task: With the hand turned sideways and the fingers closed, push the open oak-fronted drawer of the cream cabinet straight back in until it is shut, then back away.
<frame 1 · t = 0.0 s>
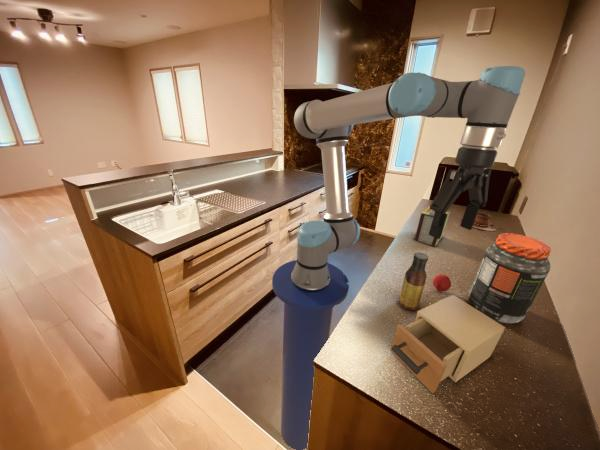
hand: (450, 232, 65), 31 cm above the worktop, tool pointing down, fingers open, 13 cm apart
sauce bottle: (407, 305, 84), on the worktop
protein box: (428, 238, 133), on the worktop
onion: (438, 291, 92), on the worktop
supplement tub: (492, 308, 85), on the worktop
cabinet: (448, 348, 69), on the worktop
drawer: (427, 349, 62), point 5 cm above the worktop, slide at 7.0 cm
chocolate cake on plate: (479, 225, 154), on the worktop
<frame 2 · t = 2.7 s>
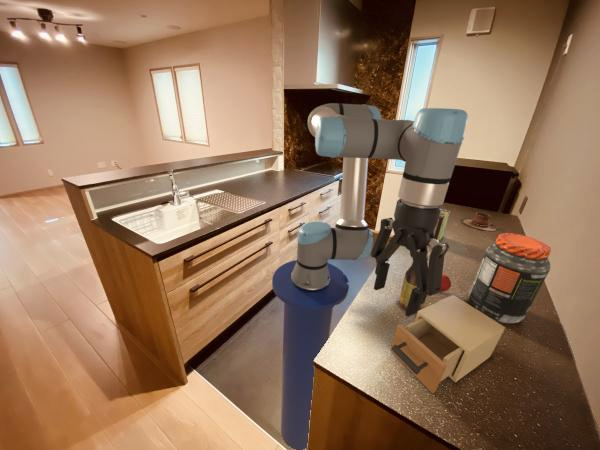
hand: (394, 299, 54), 21 cm above the worktop, tool pointing down, fingers open, 8 cm apart
nothing on the worktop moved.
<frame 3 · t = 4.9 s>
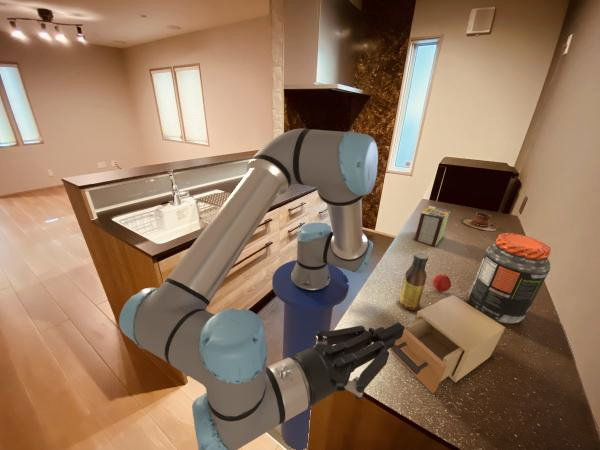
hand: (400, 329, 50), 18 cm above the worktop, tool horizontal, fingers closed
nothing on the worktop moved.
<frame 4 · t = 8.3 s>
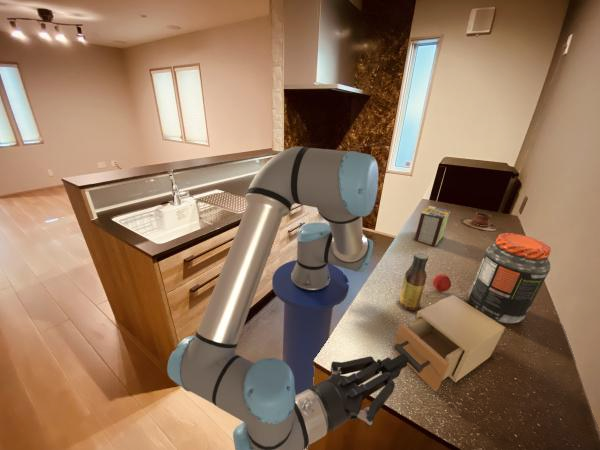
hand: (404, 359, 57), 7 cm above the worktop, tool horizontal, fingers closed
drawer: (429, 348, 62), point 5 cm above the worktop, slide at 6.2 cm, touching gripper
everything else where it was.
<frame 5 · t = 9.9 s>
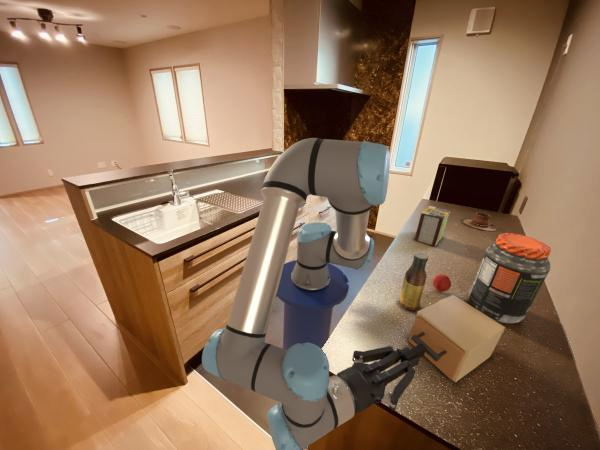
hand: (422, 349, 60), 7 cm above the worktop, tool horizontal, fingers closed
drawer: (444, 339, 65), point 5 cm above the worktop, slide at 0.0 cm, touching cabinet, gripper
everything else where it was.
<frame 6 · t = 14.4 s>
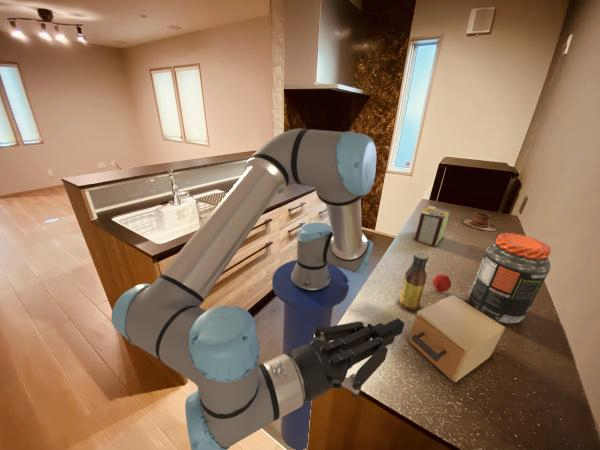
hand: (399, 325, 49), 20 cm above the worktop, tool horizontal, fingers closed
drawer: (444, 339, 65), point 5 cm above the worktop, slide at 0.0 cm, touching cabinet
everything else where it was.
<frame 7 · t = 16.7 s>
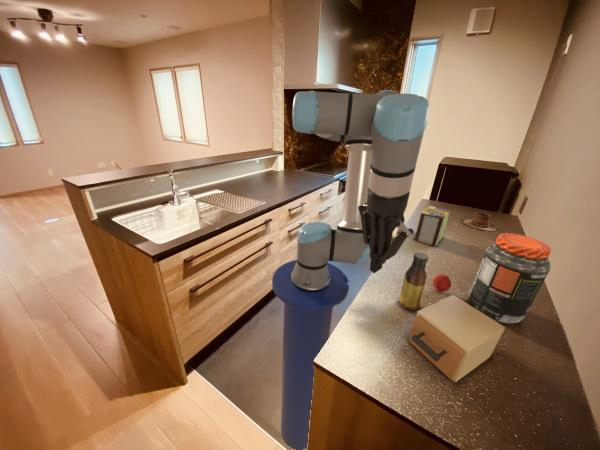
hand: (375, 268, 61), 23 cm above the worktop, tool tilted 20°, fingers closed
nothing on the worktop moved.
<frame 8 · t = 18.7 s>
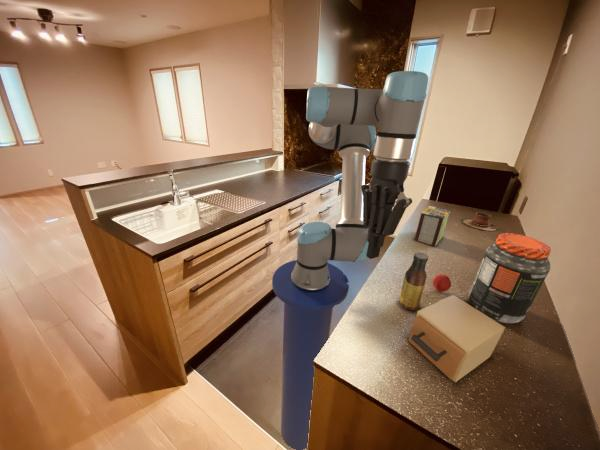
hand: (372, 256, 61), 26 cm above the worktop, tool pointing down, fingers closed
nothing on the worktop moved.
at the end: drawer slide at 0.0 cm; sauce bottle moved 0.2 cm from its start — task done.
